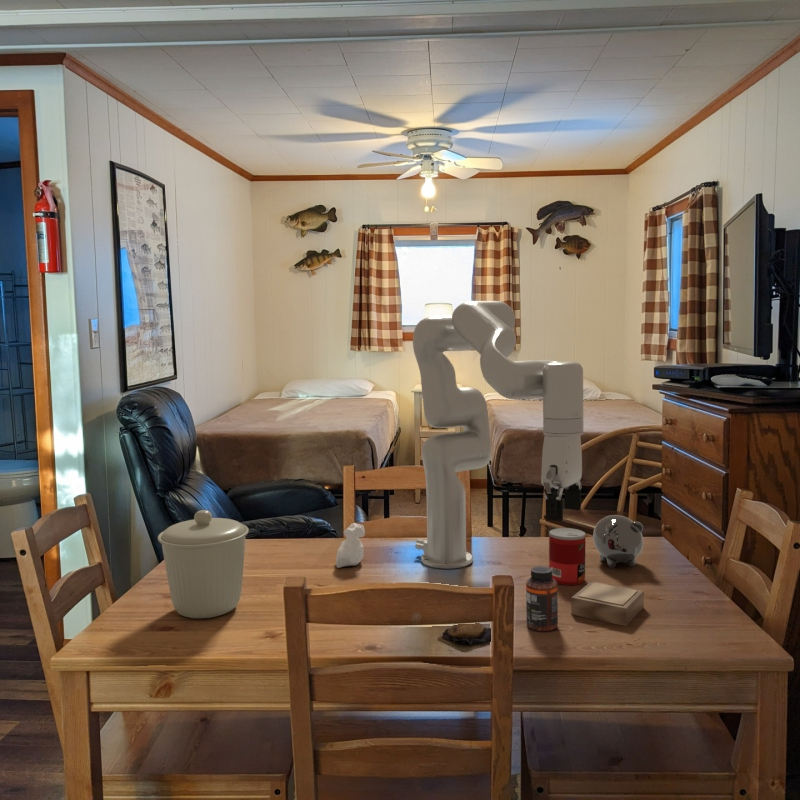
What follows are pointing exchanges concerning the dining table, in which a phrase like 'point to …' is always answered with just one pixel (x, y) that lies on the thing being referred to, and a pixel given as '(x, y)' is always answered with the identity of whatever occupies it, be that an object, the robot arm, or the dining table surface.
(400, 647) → the dining table surface
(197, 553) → the canister
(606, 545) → the piggy bank
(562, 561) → the canned food
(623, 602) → the base
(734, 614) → the dining table surface
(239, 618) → the dining table surface
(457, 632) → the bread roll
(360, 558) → the bust
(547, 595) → the supplement bottle
